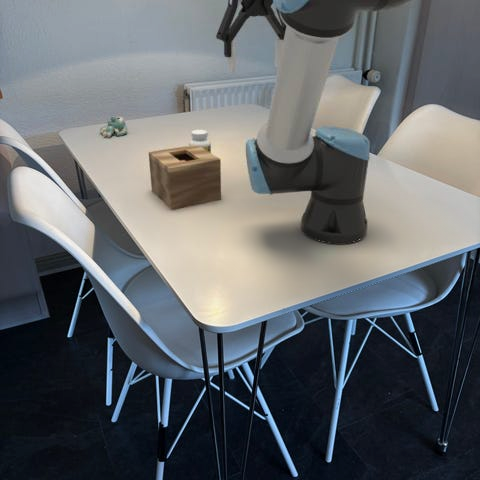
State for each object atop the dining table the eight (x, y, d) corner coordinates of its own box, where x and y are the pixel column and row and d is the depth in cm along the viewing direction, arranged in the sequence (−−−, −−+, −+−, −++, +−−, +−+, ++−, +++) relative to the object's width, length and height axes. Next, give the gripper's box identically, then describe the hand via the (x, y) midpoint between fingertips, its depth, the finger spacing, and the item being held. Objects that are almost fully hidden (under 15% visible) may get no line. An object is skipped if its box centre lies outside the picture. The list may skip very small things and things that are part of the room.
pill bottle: (208, 174, 147) (207, 135, 142) (187, 172, 148) (185, 134, 143) (213, 166, 153) (212, 129, 147) (193, 165, 154) (192, 128, 148)
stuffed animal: (89, 123, 176) (105, 109, 185) (94, 141, 181) (109, 126, 190) (117, 125, 174) (131, 111, 183) (121, 143, 178) (135, 129, 187)
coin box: (221, 199, 131) (220, 159, 125) (171, 209, 125) (168, 168, 119) (198, 182, 141) (197, 144, 136) (151, 191, 135) (148, 152, 130)
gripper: (293, -29, 120) (288, 63, 130) (200, -30, 109) (203, 70, 119) (312, -29, 114) (305, 67, 125) (215, -30, 104) (217, 75, 114)
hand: (255, 69), depth 122 cm, fingers open, 13 cm apart
